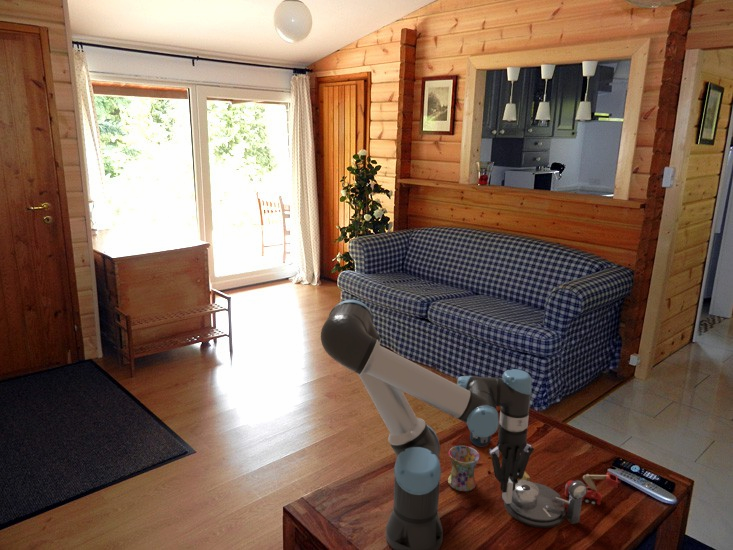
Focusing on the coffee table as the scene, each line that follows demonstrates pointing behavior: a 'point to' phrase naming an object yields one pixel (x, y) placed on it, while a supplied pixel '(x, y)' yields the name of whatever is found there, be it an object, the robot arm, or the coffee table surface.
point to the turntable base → (532, 523)
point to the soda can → (479, 440)
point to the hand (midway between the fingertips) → (506, 500)
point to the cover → (525, 495)
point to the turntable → (541, 505)
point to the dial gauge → (574, 500)
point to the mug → (463, 467)
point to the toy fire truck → (594, 487)
